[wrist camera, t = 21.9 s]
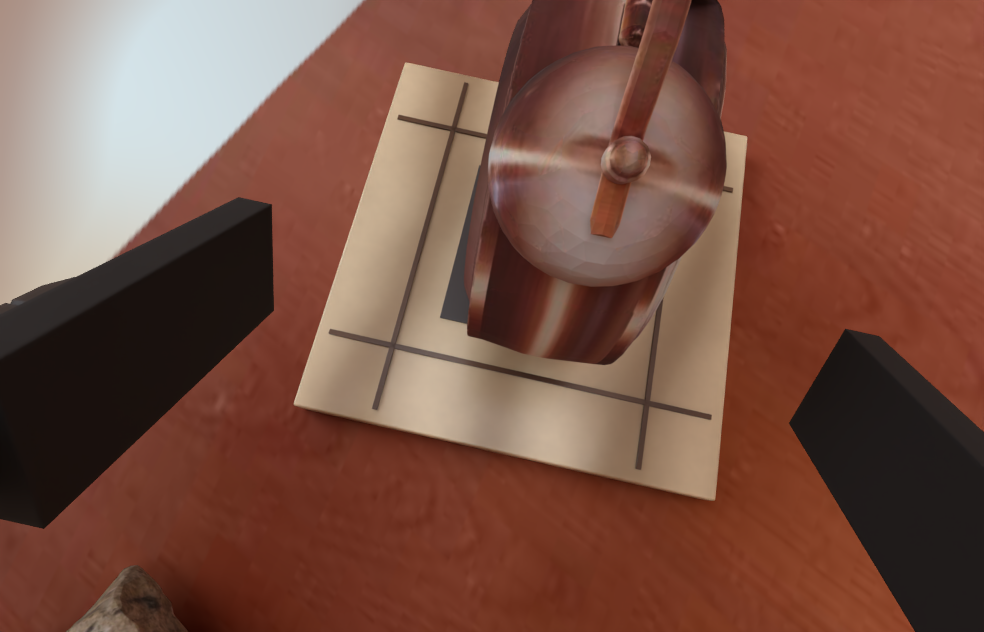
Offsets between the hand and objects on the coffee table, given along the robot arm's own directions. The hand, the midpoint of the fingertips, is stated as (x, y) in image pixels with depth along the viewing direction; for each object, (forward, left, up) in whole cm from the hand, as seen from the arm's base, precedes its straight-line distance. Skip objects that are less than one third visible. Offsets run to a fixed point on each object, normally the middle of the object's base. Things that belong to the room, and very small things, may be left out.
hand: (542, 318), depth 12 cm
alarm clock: (0, +5, -8) cm, 10 cm away
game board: (0, +5, -9) cm, 11 cm away
